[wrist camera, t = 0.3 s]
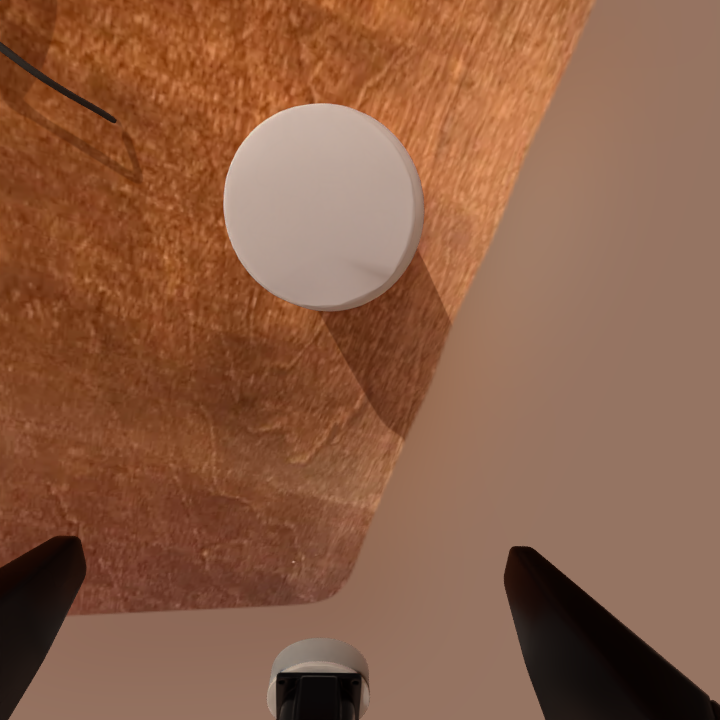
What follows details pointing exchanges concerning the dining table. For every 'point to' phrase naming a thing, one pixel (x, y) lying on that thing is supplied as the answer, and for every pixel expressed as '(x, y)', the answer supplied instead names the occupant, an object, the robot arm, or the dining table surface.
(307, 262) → the pill bottle
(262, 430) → the dining table surface
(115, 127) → the dining table surface
